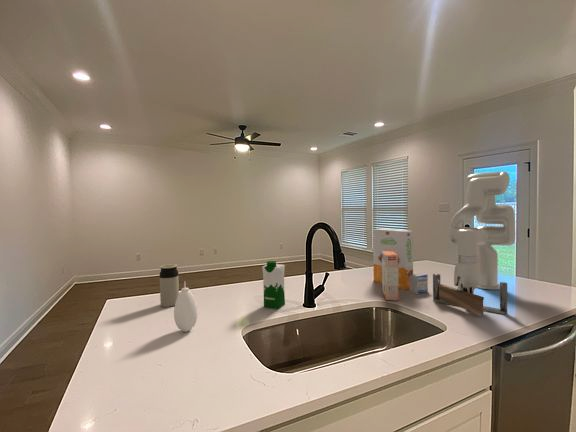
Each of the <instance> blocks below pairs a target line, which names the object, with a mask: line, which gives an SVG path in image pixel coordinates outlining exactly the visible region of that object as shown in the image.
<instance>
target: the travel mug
mask: <svg viewBox="0 0 576 432" xmlns="http://www.w3.org/2000/svg"><path fill="white" fill-rule="evenodd" d="M159 268H160V272H159V291H160V292H159V295H160V296H159V297H160V306H161V307H164V308H171V307H170V306H172V307H175V306H174V305H175V303H176V300H177V297H178V295H179V294H180V288H179V287H180V284H179V278H180V277H179V271H178V264H175V263H172V264H171V263H170V264H164V265H160V266H159Z"/></svg>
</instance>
